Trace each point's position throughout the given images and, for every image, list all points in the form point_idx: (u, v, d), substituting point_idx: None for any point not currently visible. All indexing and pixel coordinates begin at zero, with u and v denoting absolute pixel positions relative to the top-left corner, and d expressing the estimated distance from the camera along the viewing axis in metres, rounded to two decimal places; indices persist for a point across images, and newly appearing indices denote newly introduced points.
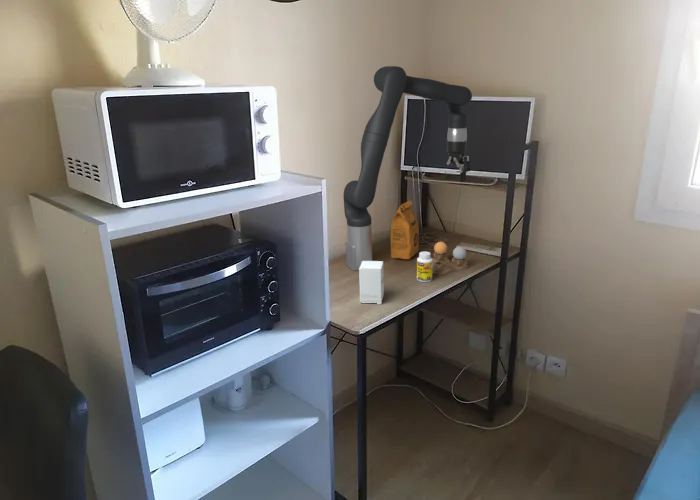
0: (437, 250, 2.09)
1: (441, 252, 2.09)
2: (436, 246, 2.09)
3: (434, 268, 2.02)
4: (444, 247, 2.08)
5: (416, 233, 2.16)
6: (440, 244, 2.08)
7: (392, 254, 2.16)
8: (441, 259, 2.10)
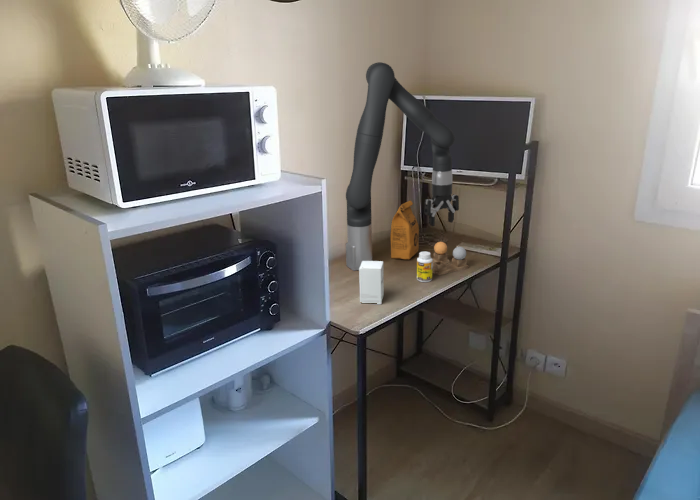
0: (437, 250, 2.09)
1: (441, 252, 2.09)
2: (436, 246, 2.09)
3: (434, 268, 2.02)
4: (444, 247, 2.08)
5: (416, 233, 2.16)
6: (440, 244, 2.08)
7: (392, 254, 2.16)
8: (441, 259, 2.10)
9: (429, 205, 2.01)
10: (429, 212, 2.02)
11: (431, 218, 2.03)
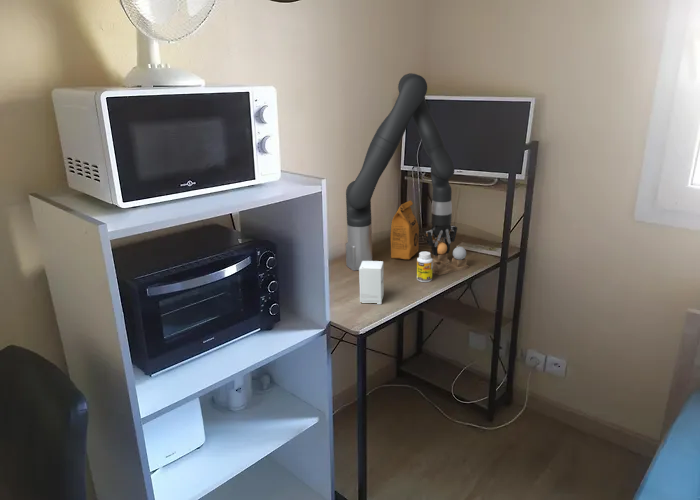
0: (437, 250, 2.09)
1: (441, 252, 2.09)
2: None
3: (434, 268, 2.02)
4: (444, 247, 2.08)
5: (416, 233, 2.16)
6: (440, 244, 2.08)
7: (392, 254, 2.16)
8: (441, 259, 2.10)
9: (430, 236, 2.05)
10: (432, 242, 2.06)
11: (434, 248, 2.08)
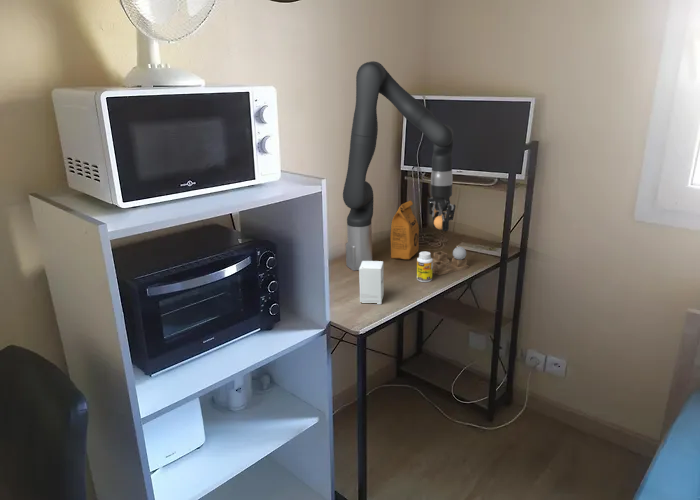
0: None
1: None
2: None
3: (434, 268, 2.02)
4: None
5: (416, 233, 2.16)
6: None
7: (392, 254, 2.16)
8: (441, 259, 2.10)
9: None
10: None
11: None
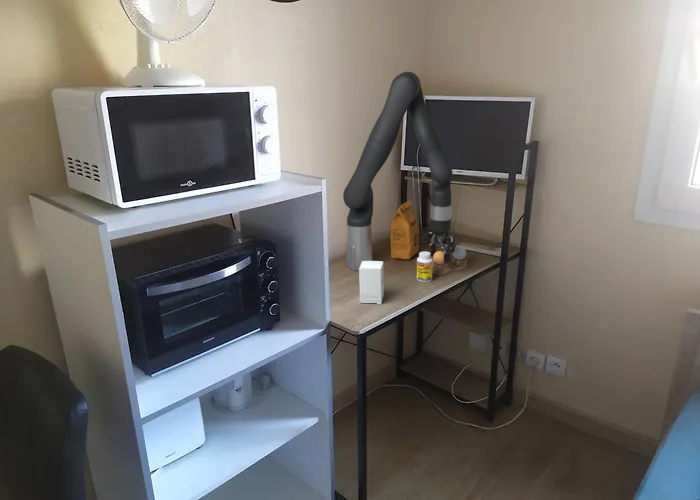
0: None
1: None
2: (443, 256, 1.98)
3: (434, 268, 2.02)
4: None
5: (416, 233, 2.16)
6: (443, 252, 2.00)
7: (392, 254, 2.16)
8: None
9: None
10: None
11: None
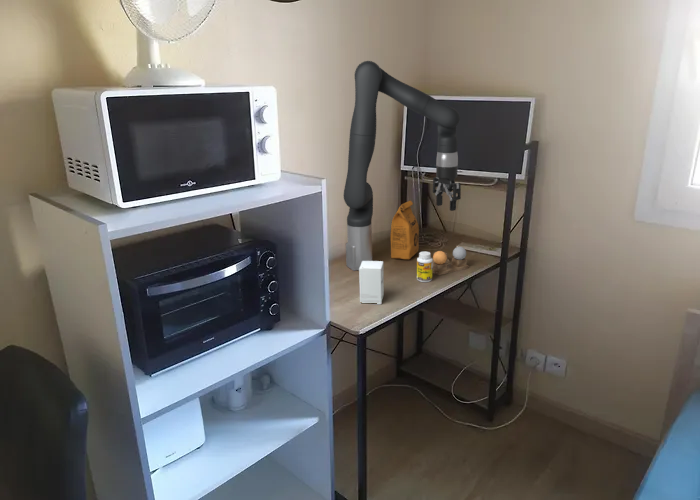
0: (445, 259, 1.99)
1: None
2: (443, 256, 1.98)
3: (434, 268, 2.02)
4: None
5: (416, 233, 2.16)
6: (443, 252, 2.00)
7: (392, 254, 2.16)
8: None
9: None
10: None
11: None
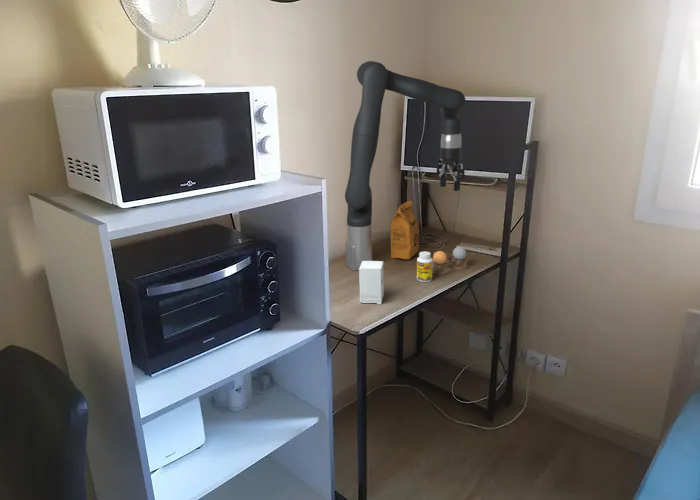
0: (445, 259, 1.99)
1: None
2: (443, 256, 1.98)
3: (434, 268, 2.02)
4: None
5: (416, 233, 2.16)
6: (443, 252, 2.00)
7: (392, 254, 2.16)
8: None
9: None
10: None
11: (459, 182, 2.02)
